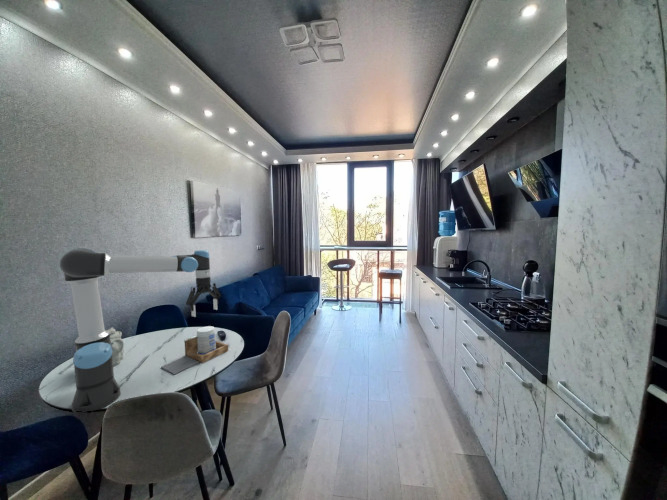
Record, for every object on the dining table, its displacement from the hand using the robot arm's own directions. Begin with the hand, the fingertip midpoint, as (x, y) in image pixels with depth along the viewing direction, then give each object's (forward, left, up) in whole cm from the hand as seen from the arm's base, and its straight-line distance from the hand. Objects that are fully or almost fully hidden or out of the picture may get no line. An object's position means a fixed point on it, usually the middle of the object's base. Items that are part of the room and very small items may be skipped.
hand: (205, 312), depth 147 cm
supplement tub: (0, 0, -25) cm, 25 cm away
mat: (-16, -1, -24) cm, 29 cm away
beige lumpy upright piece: (-34, +34, -25) cm, 54 cm away
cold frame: (0, 0, -24) cm, 24 cm away
